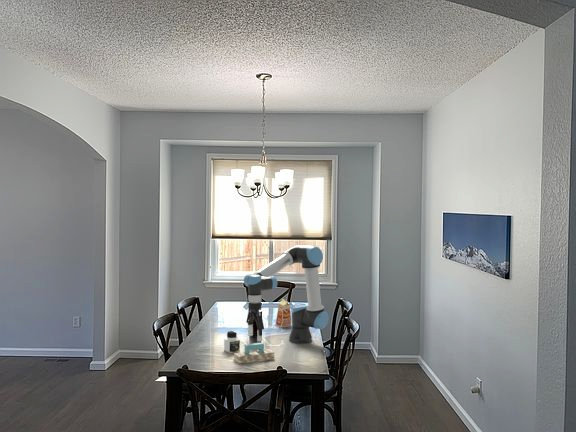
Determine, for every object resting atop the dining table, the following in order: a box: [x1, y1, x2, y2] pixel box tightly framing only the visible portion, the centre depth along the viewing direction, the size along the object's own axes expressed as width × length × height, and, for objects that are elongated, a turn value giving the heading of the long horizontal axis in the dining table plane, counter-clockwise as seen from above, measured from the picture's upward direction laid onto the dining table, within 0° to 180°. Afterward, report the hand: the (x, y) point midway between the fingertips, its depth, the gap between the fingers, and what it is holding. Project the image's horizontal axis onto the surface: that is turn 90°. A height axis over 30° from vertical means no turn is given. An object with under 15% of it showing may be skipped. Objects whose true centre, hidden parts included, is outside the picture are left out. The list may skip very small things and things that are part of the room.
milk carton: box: [274, 298, 292, 328], centre depth 406 cm, size 9×9×20 cm
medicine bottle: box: [223, 330, 241, 354], centre depth 333 cm, size 7×7×12 cm
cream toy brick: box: [233, 348, 275, 364], centre depth 315 cm, size 22×8×4 cm, turn 117°
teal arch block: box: [244, 342, 265, 355], centre depth 315 cm, size 11×3×8 cm, turn 117°
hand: (255, 338), depth 315 cm, fingers open, 13 cm apart
